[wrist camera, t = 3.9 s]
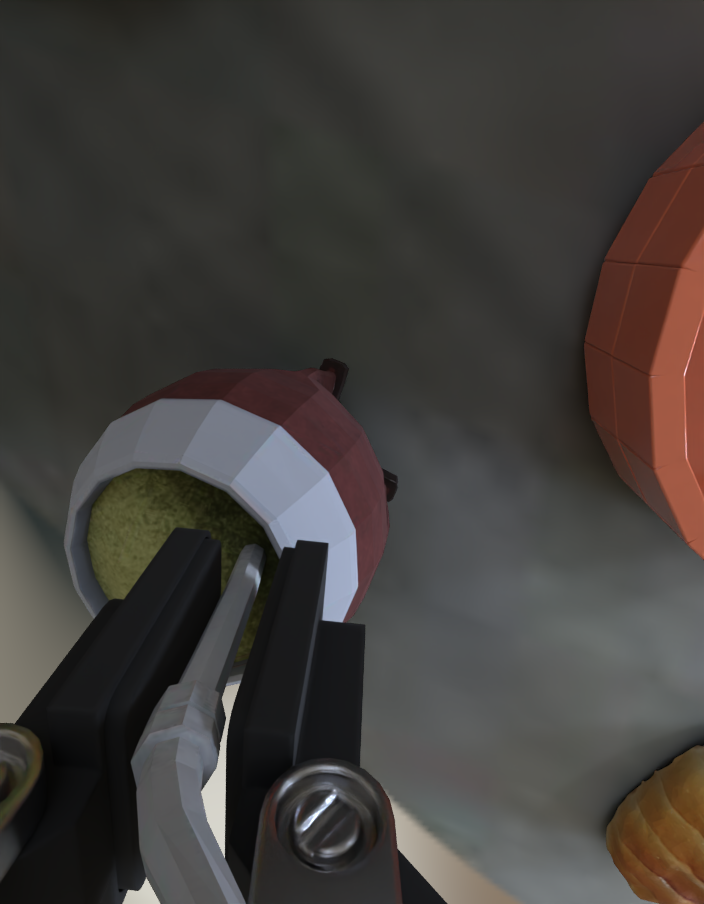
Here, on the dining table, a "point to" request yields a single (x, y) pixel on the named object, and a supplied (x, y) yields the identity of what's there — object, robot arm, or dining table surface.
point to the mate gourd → (222, 560)
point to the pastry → (663, 833)
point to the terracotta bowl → (655, 345)
